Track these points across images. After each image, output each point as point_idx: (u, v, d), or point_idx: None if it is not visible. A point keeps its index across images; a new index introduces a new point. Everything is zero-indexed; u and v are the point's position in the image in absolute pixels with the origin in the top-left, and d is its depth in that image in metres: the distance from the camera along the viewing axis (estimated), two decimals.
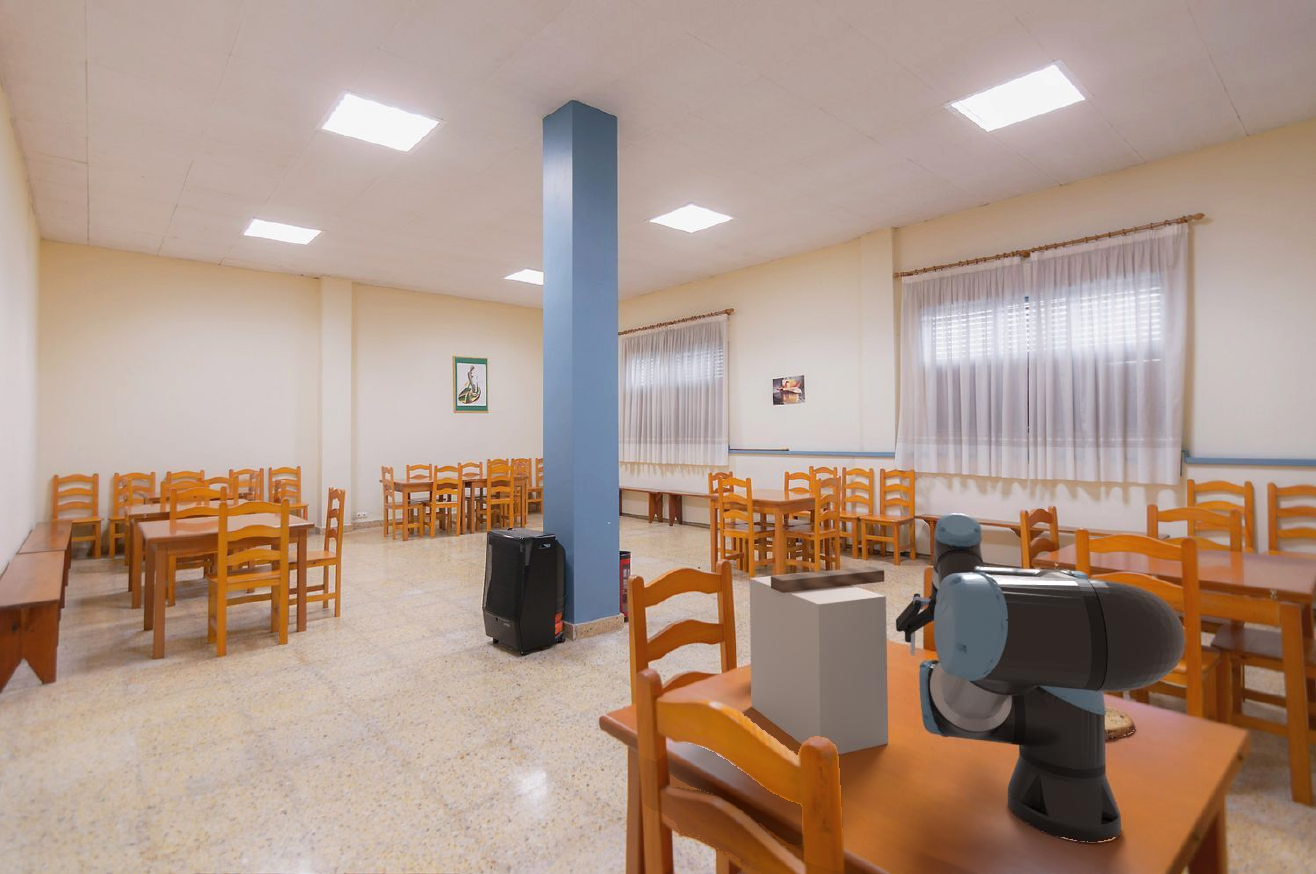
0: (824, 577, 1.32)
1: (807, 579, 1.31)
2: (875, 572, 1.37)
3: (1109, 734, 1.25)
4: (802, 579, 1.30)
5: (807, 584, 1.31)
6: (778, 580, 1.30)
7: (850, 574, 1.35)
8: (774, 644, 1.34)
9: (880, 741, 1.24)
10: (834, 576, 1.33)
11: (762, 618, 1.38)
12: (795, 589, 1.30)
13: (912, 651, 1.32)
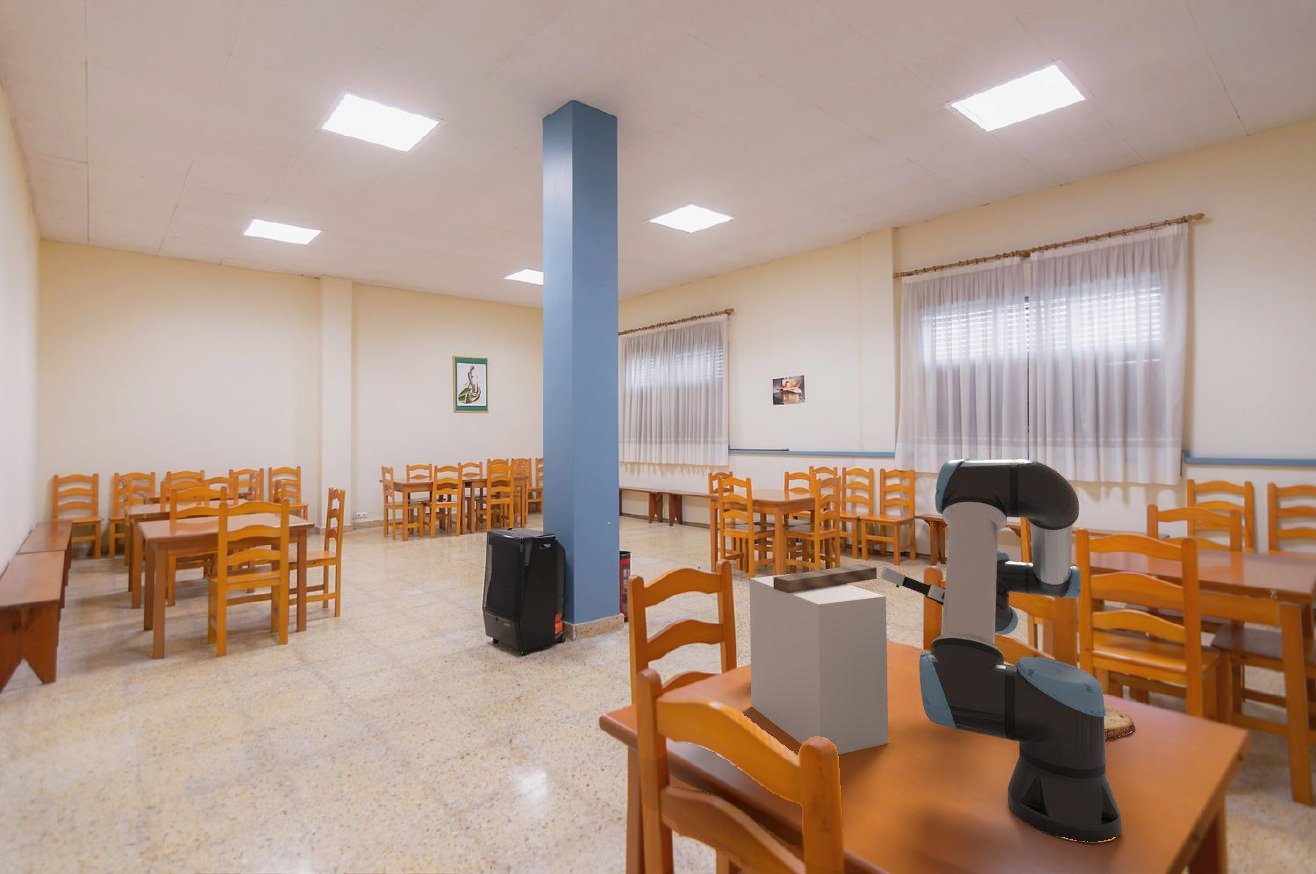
0: (825, 576, 1.33)
1: (810, 579, 1.31)
2: (869, 570, 1.40)
3: (1108, 734, 1.25)
4: (805, 579, 1.31)
5: (809, 583, 1.31)
6: (783, 580, 1.30)
7: (847, 572, 1.37)
8: (774, 644, 1.34)
9: (880, 741, 1.24)
10: (833, 575, 1.35)
11: (762, 618, 1.38)
12: (799, 589, 1.30)
13: None
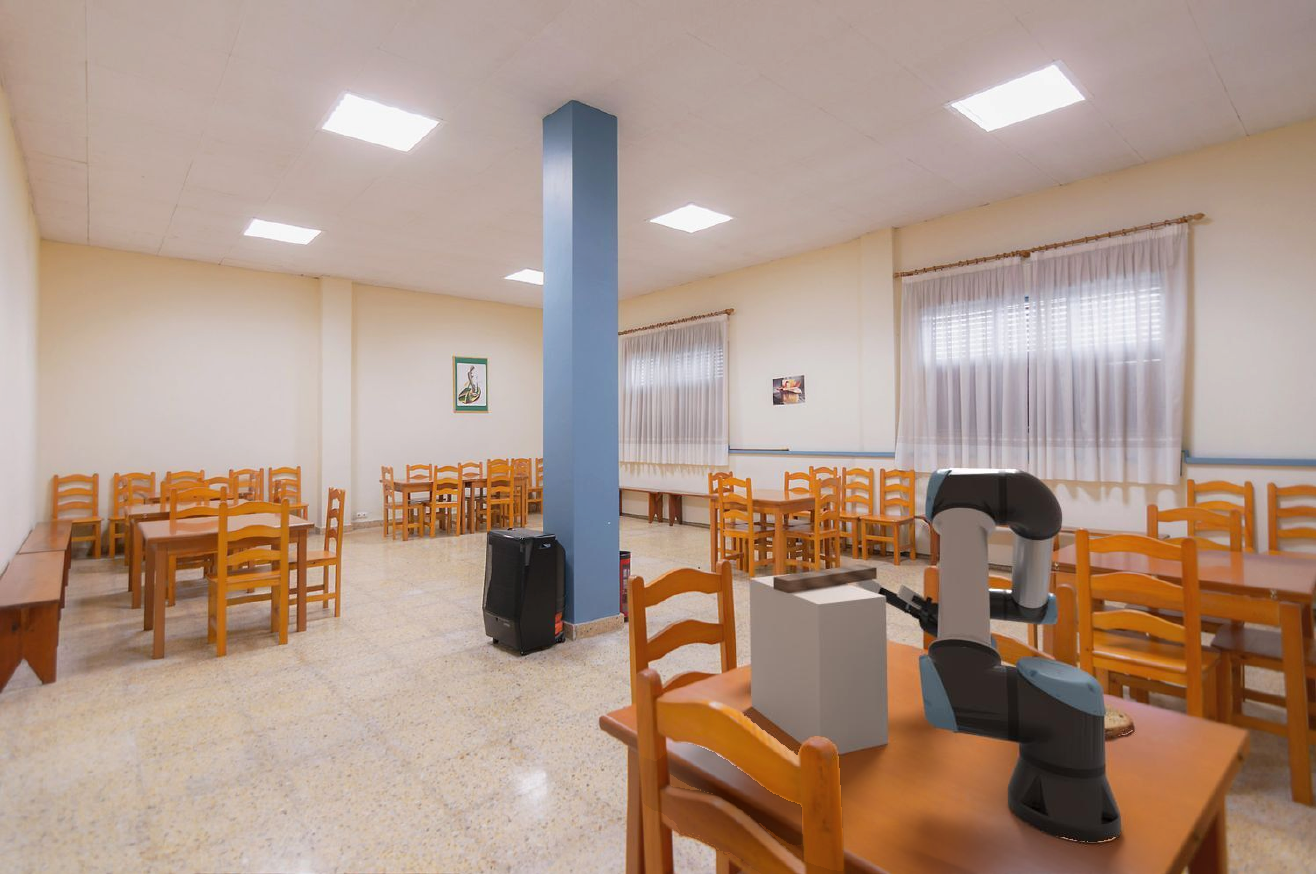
0: (825, 576, 1.33)
1: (810, 579, 1.31)
2: (869, 570, 1.40)
3: (1107, 733, 1.26)
4: (805, 579, 1.31)
5: (809, 583, 1.31)
6: (783, 580, 1.30)
7: (847, 572, 1.37)
8: (774, 644, 1.34)
9: (880, 741, 1.24)
10: (833, 575, 1.35)
11: (762, 618, 1.38)
12: (799, 589, 1.30)
13: None
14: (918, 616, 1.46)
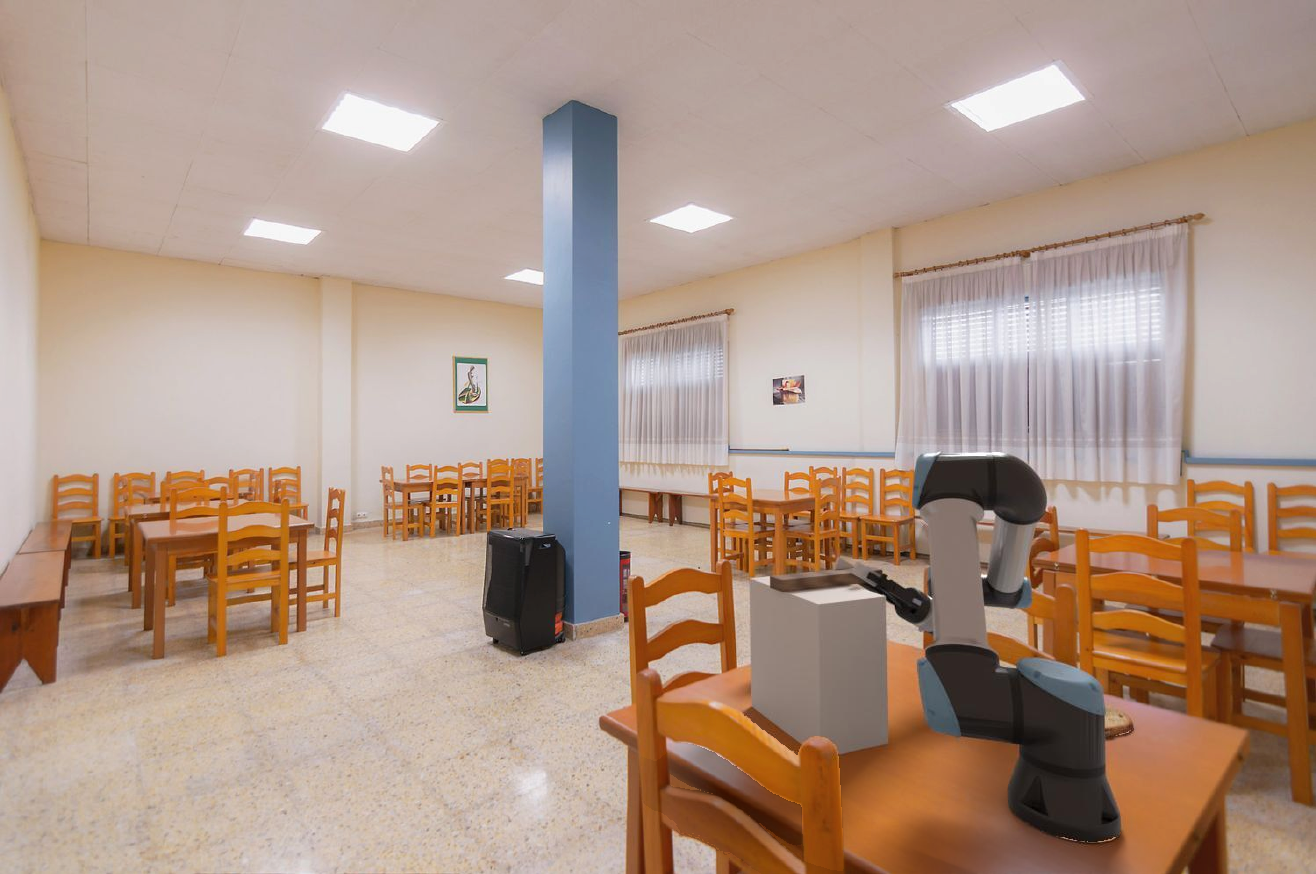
0: (823, 576, 1.33)
1: (806, 578, 1.31)
2: None
3: (1105, 733, 1.26)
4: (801, 578, 1.31)
5: (806, 583, 1.31)
6: (777, 579, 1.30)
7: (849, 573, 1.35)
8: (774, 644, 1.34)
9: (880, 741, 1.24)
10: (833, 575, 1.34)
11: (762, 618, 1.38)
12: (794, 588, 1.30)
13: None
14: (894, 602, 1.43)
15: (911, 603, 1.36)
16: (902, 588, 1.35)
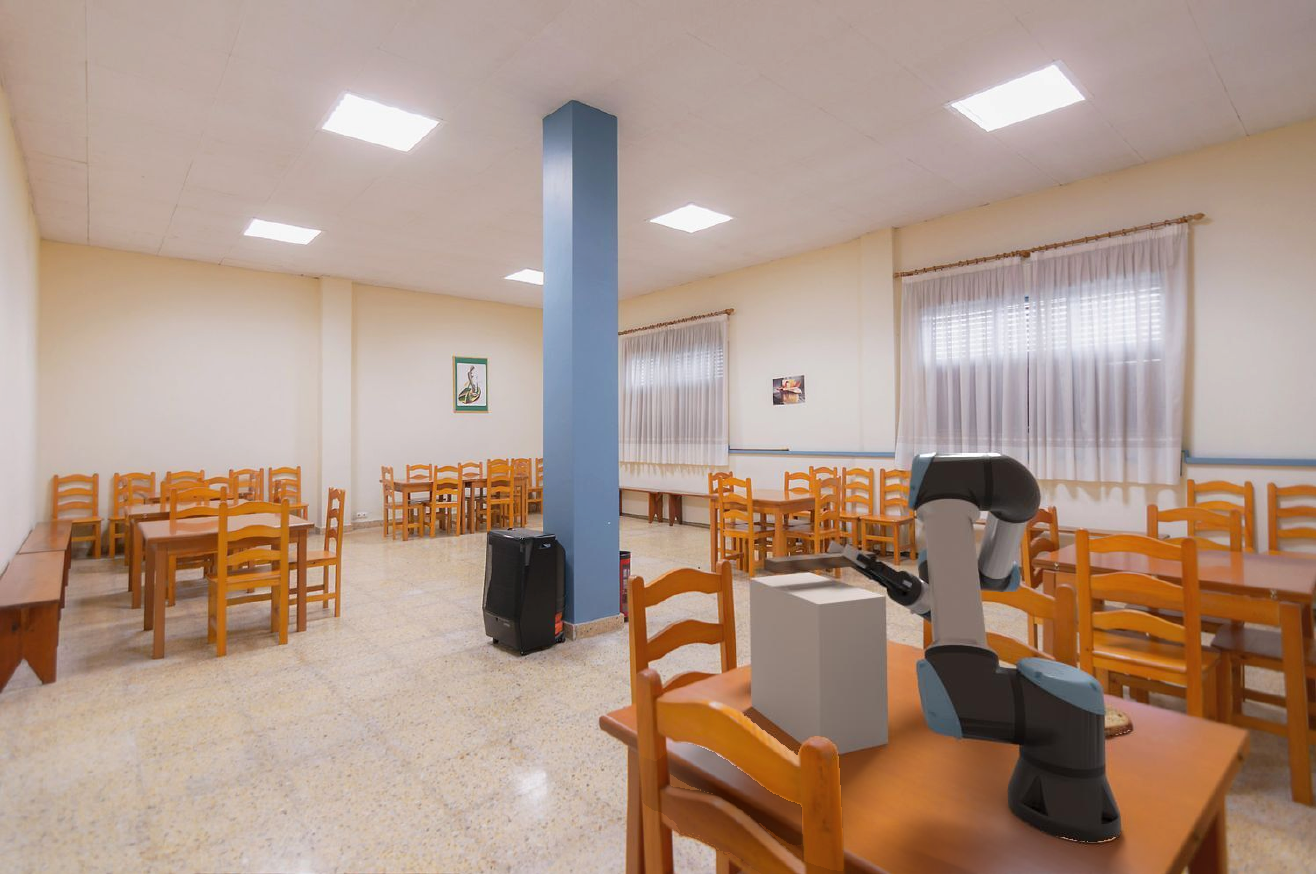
0: (816, 559, 1.35)
1: (799, 561, 1.34)
2: None
3: None
4: (794, 561, 1.33)
5: (799, 565, 1.34)
6: (771, 561, 1.33)
7: (842, 556, 1.38)
8: (774, 644, 1.34)
9: (880, 741, 1.24)
10: (826, 558, 1.36)
11: (762, 618, 1.38)
12: (787, 570, 1.33)
13: (836, 543, 1.43)
14: (886, 585, 1.46)
15: (901, 585, 1.39)
16: (891, 570, 1.38)
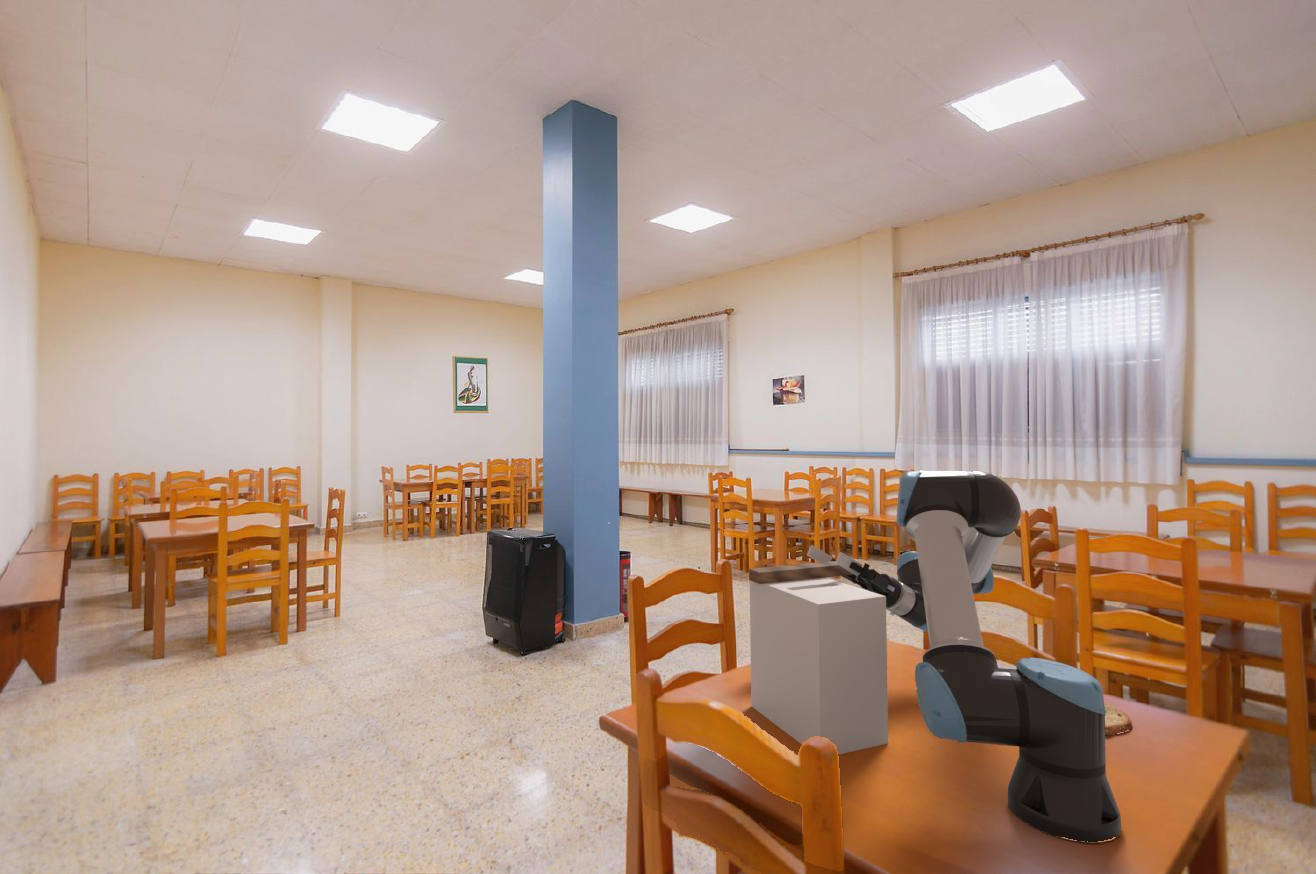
0: (799, 569, 1.41)
1: (783, 571, 1.39)
2: None
3: None
4: (778, 571, 1.39)
5: (783, 576, 1.39)
6: (755, 572, 1.38)
7: (824, 567, 1.43)
8: (774, 644, 1.34)
9: (880, 741, 1.24)
10: (809, 569, 1.42)
11: (762, 618, 1.38)
12: (771, 581, 1.38)
13: None
14: (867, 587, 1.51)
15: (886, 590, 1.44)
16: (881, 576, 1.42)
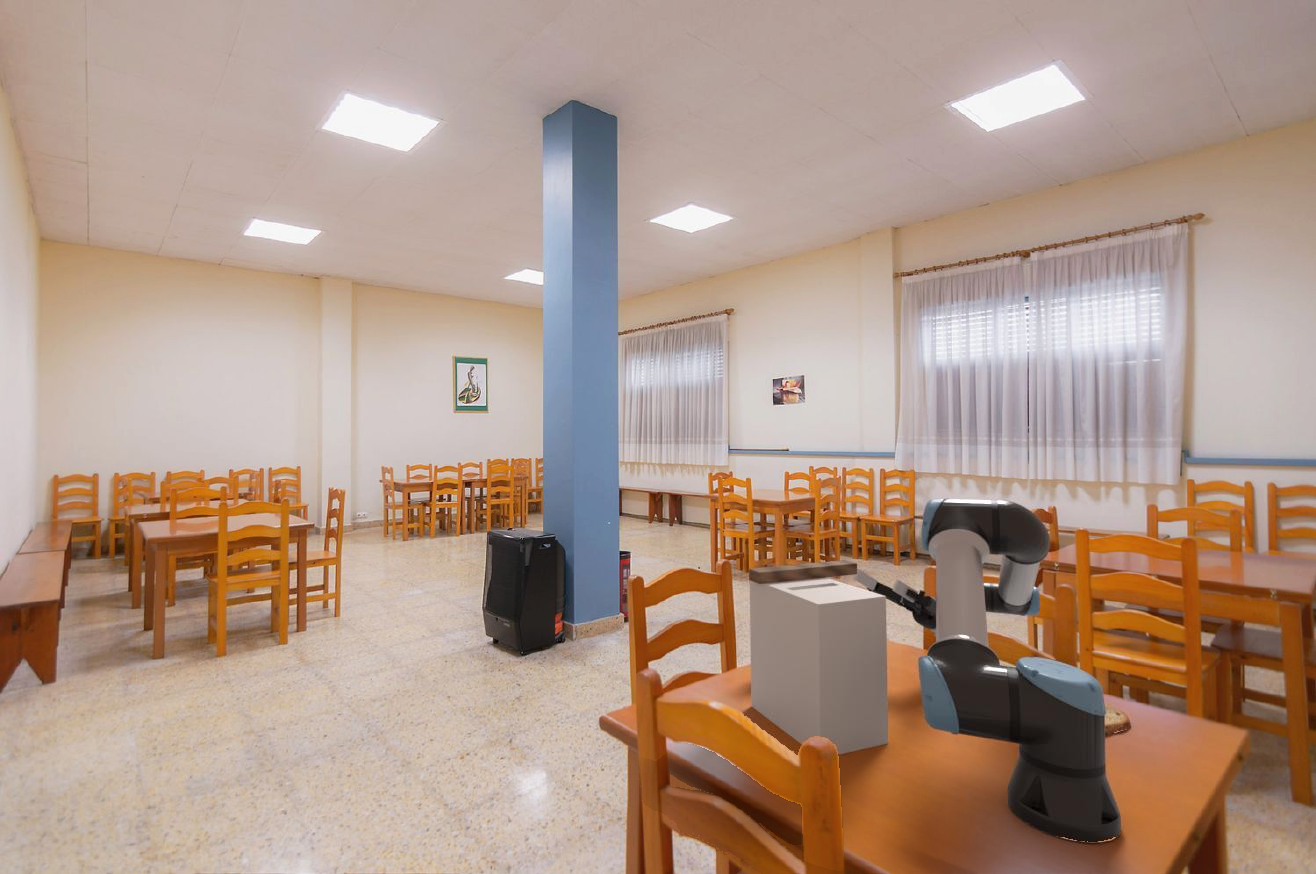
0: (799, 569, 1.41)
1: (783, 571, 1.39)
2: (848, 565, 1.46)
3: None
4: (778, 571, 1.39)
5: (783, 576, 1.39)
6: (755, 572, 1.38)
7: (824, 567, 1.43)
8: (774, 644, 1.34)
9: (880, 741, 1.24)
10: (809, 569, 1.42)
11: (762, 618, 1.38)
12: (771, 581, 1.38)
13: None
14: (912, 609, 1.56)
15: (936, 614, 1.49)
16: (934, 603, 1.47)
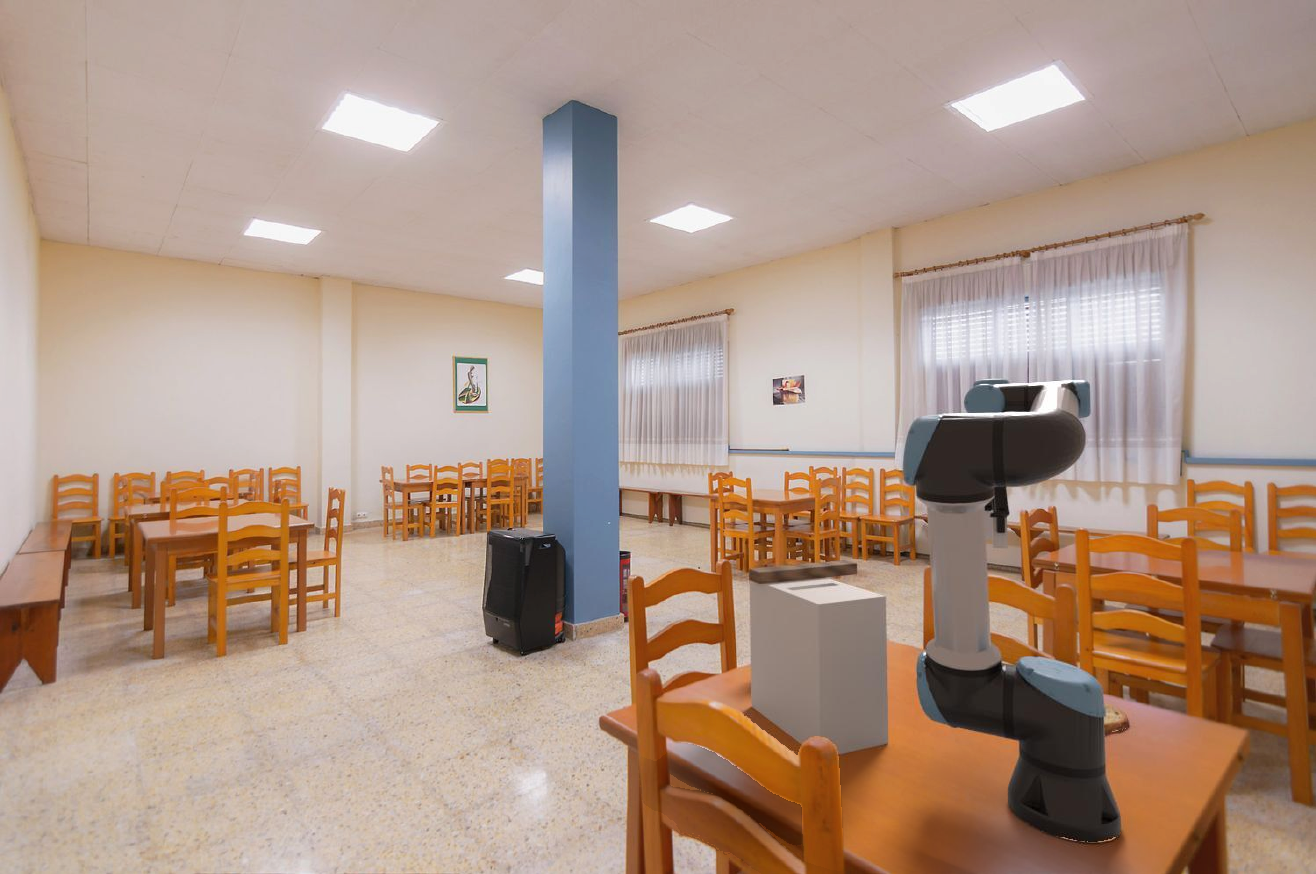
0: (799, 569, 1.41)
1: (783, 571, 1.39)
2: (848, 565, 1.46)
3: None
4: (778, 571, 1.39)
5: (783, 576, 1.39)
6: (755, 572, 1.38)
7: (824, 567, 1.43)
8: (774, 644, 1.34)
9: (880, 741, 1.24)
10: (809, 569, 1.42)
11: (762, 618, 1.38)
12: (771, 581, 1.38)
13: None
14: None
15: None
16: None
